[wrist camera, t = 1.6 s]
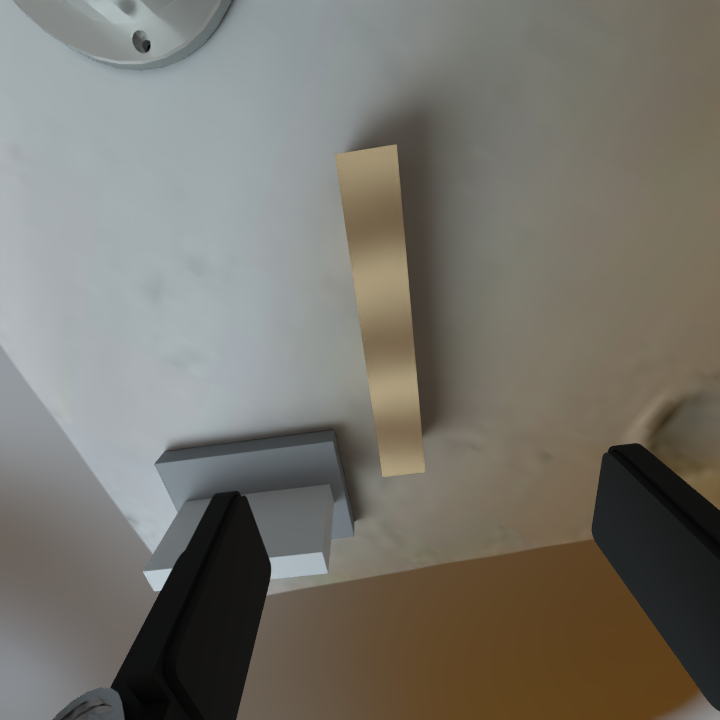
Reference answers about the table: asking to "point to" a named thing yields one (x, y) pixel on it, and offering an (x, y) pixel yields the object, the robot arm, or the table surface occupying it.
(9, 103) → the table surface
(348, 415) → the table surface
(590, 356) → the table surface
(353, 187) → the rod
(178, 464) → the fulcrum
